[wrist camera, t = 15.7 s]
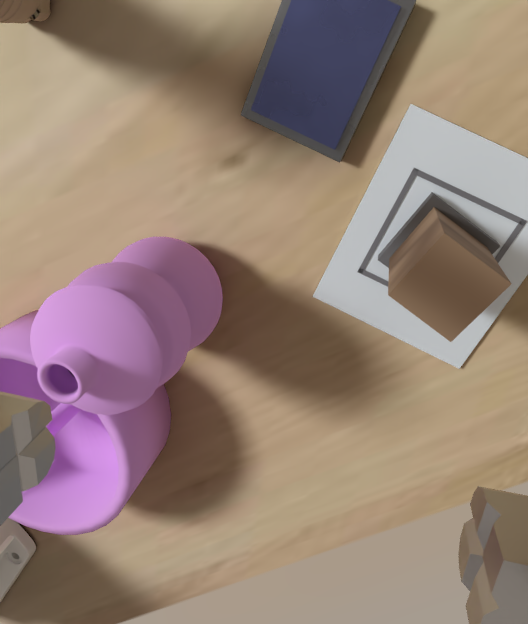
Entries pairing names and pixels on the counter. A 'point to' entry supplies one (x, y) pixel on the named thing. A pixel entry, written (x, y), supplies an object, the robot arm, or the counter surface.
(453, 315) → the stamp
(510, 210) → the card
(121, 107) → the counter surface
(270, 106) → the ink tin
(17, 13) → the handle
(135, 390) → the container set
